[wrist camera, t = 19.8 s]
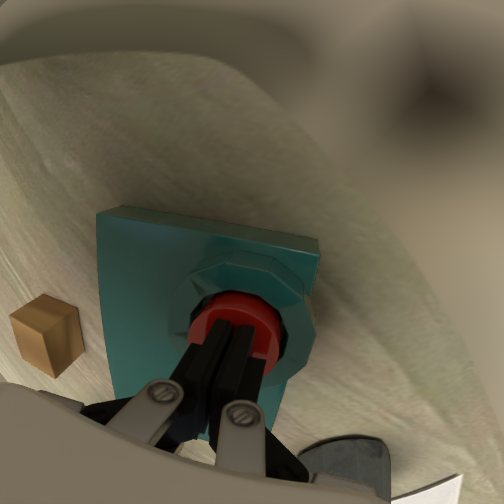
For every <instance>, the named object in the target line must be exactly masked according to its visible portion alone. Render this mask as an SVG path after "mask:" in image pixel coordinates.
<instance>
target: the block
mask: <svg viewBox="0 0 504 504" xmlns="http://www.w3.org/2000/svg"><path fill="white" fill-rule="evenodd" d="M9 317H10V320H11V324H12V328H13V331H14V335H15V338H16V341H17V344H18V347H19V350H20V353H21V356H22V359H24V360H25V361H27V362H28V363H30V364H31V365H33V366H35V367H36V368H38V369H39V370H41V371H43V372H44V373H46V374H47V375H49V376H51V377H52V378H54V379H56V378H57V377H58V376H59V375H60V374H61V373H62V372H63V371H64V370H65V369H67V368H68V367H69V366H70V365H71V364H72V363H73V362H74V361H75V360H76V359H77V358H78V357H79V356H80V355H81V354H82V353H83V352H84V351H85V350H84V345H83V340H82V335H81V329H80V323H79V317H78V310H77V308H75V307H73V306H70V305H68V304H65V303H63V302H61V301H58V300H56V299H54V298H51V297H49V296H47V295H44V294H42V295H40V296H39V297H37V298H35V299H34V300H32V301H31V302H29V303H27V304H26V305H24V306H23V307H21V308H20V309H18V310H16V311H15V312H13V313H12V314H10V315H9Z"/></svg>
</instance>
